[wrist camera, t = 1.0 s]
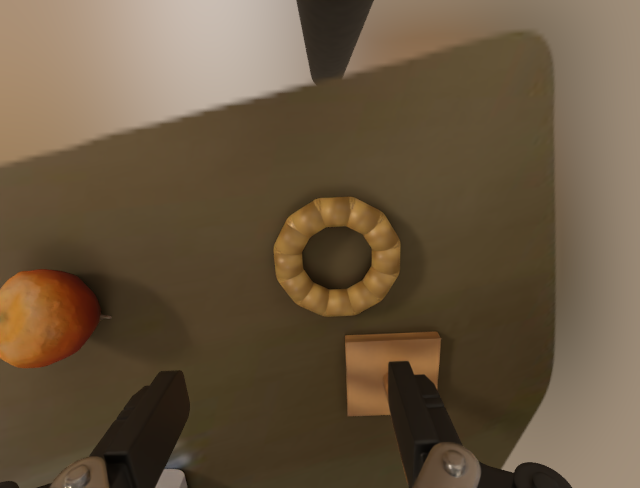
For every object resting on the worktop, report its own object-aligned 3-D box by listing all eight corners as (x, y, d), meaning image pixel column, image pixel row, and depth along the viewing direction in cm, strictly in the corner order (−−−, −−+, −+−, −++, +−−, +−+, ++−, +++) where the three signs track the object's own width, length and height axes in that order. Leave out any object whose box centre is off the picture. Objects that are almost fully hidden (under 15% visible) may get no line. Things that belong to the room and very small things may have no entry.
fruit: (72, 369, 32) (-32, 391, 25) (55, 294, 34) (-47, 294, 27) (137, 335, 31) (49, 348, 23) (116, 259, 33) (28, 248, 25)
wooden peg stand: (344, 335, 33) (355, 433, 22) (437, 331, 32) (493, 428, 22) (347, 407, 36) (358, 525, 25) (431, 404, 35) (479, 521, 25)
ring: (270, 198, 28) (266, 204, 26) (398, 191, 28) (405, 197, 26) (282, 309, 32) (279, 323, 29) (395, 305, 32) (401, 318, 29)
